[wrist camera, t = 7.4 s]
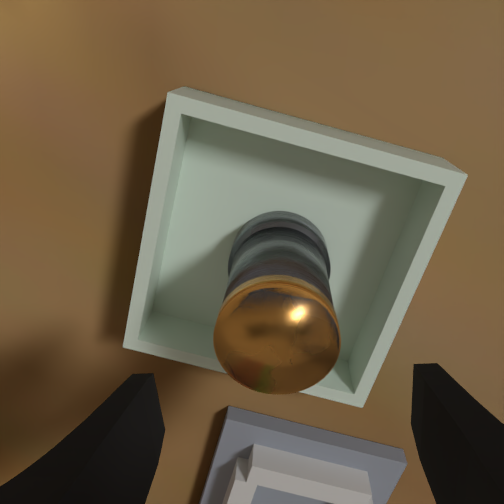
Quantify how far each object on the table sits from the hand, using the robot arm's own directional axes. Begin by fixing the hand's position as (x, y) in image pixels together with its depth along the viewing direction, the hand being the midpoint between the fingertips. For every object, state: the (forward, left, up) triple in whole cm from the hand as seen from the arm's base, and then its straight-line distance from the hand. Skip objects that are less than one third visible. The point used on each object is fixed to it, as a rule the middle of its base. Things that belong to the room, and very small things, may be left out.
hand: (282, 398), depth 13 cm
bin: (0, -1, -10) cm, 10 cm away
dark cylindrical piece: (0, 0, -9) cm, 9 cm away
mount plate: (-5, +14, -10) cm, 18 cm away
